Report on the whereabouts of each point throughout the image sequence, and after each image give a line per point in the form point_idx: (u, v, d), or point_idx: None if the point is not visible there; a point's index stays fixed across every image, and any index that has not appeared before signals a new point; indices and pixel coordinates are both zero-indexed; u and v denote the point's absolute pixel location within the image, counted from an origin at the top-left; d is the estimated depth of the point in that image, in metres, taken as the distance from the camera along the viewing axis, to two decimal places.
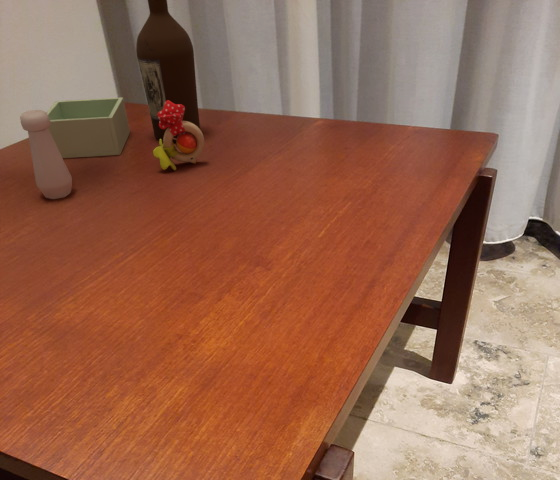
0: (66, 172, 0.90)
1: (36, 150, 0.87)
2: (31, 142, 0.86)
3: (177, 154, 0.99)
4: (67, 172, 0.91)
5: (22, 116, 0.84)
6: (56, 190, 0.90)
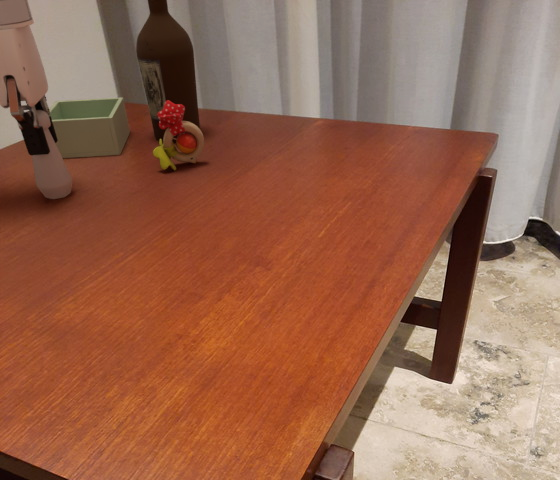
0: (66, 172, 0.90)
1: None
2: None
3: (177, 154, 0.99)
4: (67, 172, 0.91)
5: None
6: (56, 190, 0.90)
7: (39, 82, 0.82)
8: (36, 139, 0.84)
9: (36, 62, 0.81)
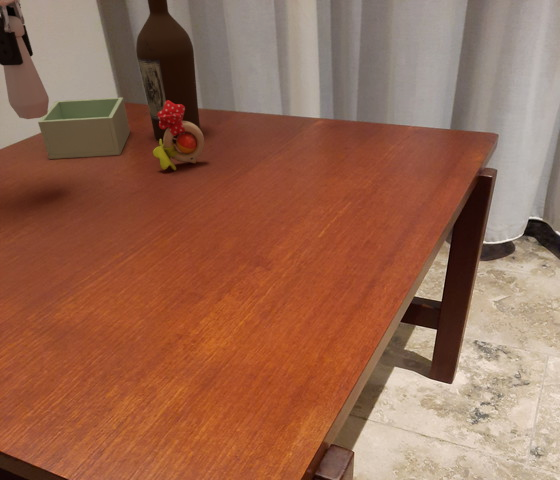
0: (42, 89, 0.83)
1: None
2: None
3: (177, 154, 0.99)
4: (43, 89, 0.84)
5: None
6: (30, 108, 0.83)
7: None
8: (7, 46, 0.77)
9: None
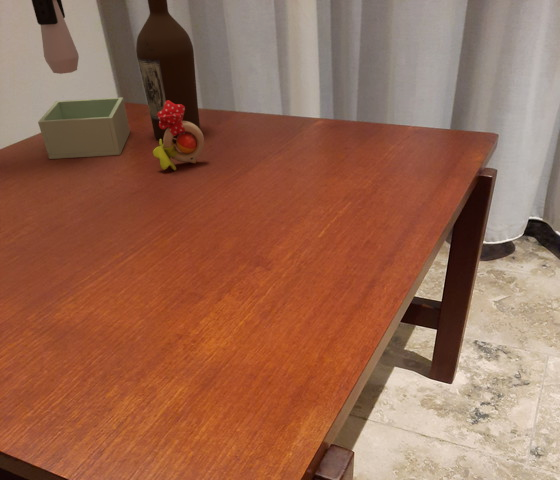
0: (73, 47, 0.96)
1: None
2: None
3: (177, 154, 0.99)
4: (74, 47, 0.96)
5: None
6: (63, 63, 0.96)
7: None
8: (45, 7, 0.90)
9: None
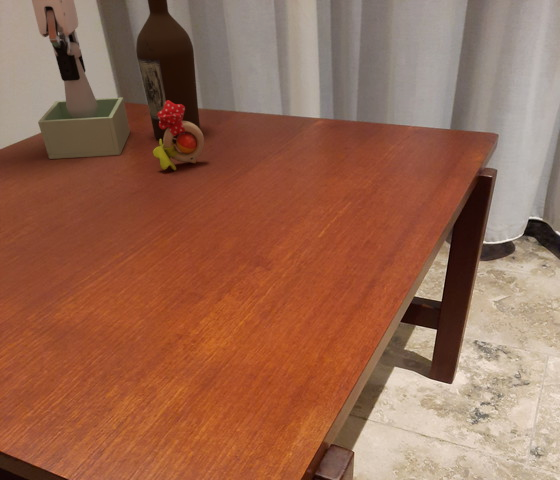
0: (93, 98, 1.05)
1: None
2: None
3: (177, 154, 0.99)
4: (94, 98, 1.06)
5: None
6: (84, 113, 1.05)
7: (72, 16, 0.97)
8: (69, 65, 0.99)
9: None
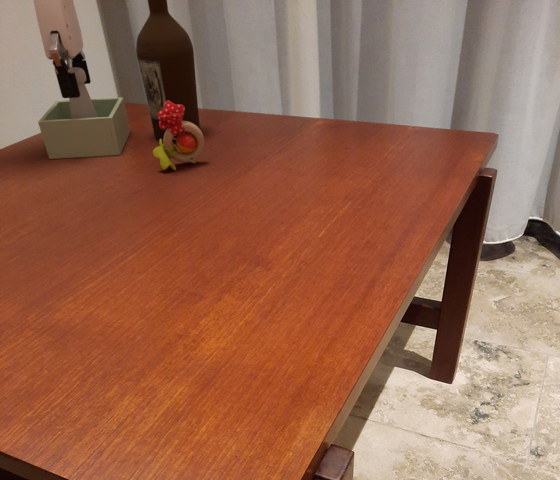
0: None
1: (74, 101, 1.04)
2: None
3: (177, 154, 0.99)
4: None
5: None
6: None
7: (77, 39, 0.99)
8: (69, 83, 0.99)
9: (75, 22, 0.98)
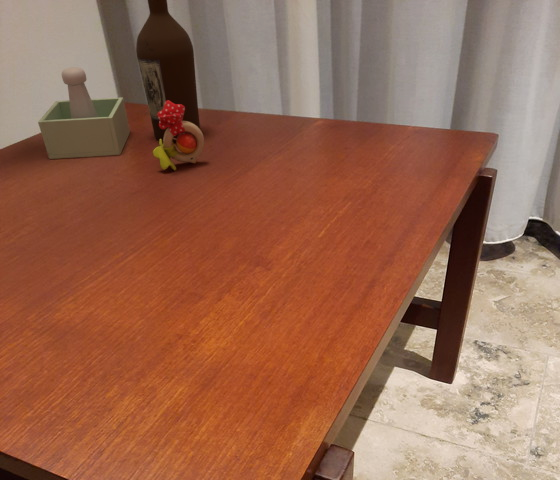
0: None
1: (74, 101, 1.04)
2: (70, 94, 1.04)
3: (177, 154, 0.99)
4: None
5: (63, 71, 1.01)
6: None
7: None
8: None
9: None
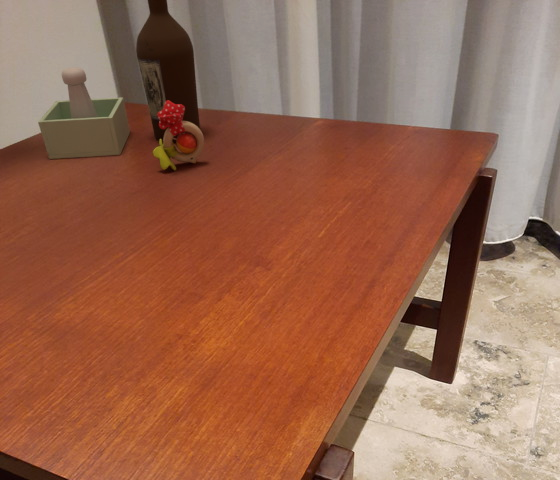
0: None
1: (74, 101, 1.04)
2: (70, 94, 1.04)
3: (177, 154, 0.99)
4: None
5: (63, 71, 1.01)
6: None
7: None
8: None
9: None
